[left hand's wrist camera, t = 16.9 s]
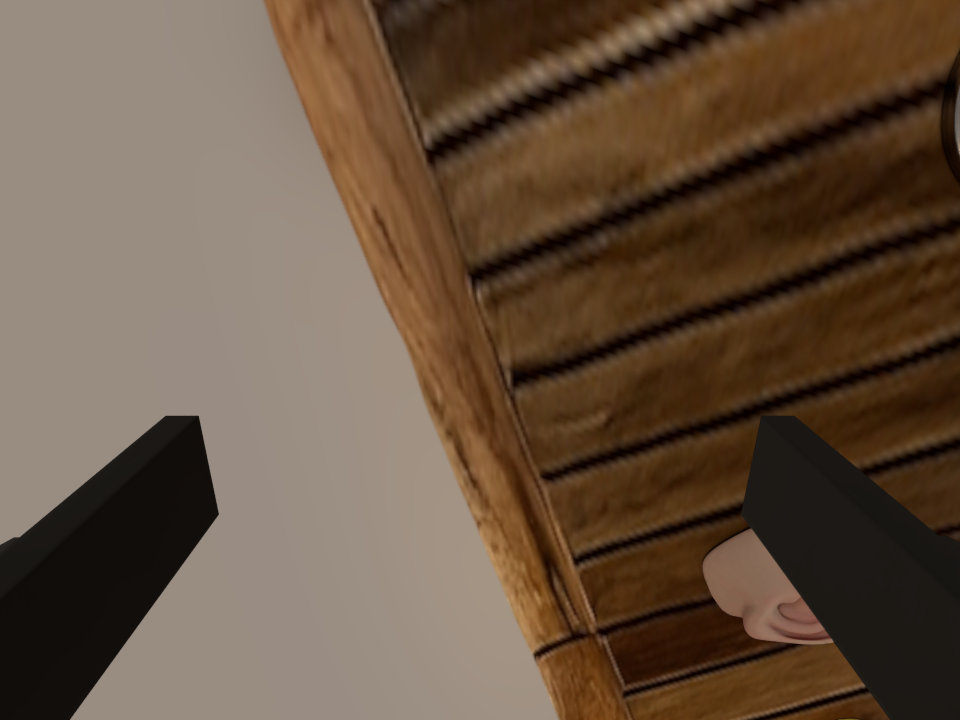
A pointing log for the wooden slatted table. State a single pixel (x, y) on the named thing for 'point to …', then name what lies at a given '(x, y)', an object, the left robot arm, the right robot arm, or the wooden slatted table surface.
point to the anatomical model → (759, 592)
